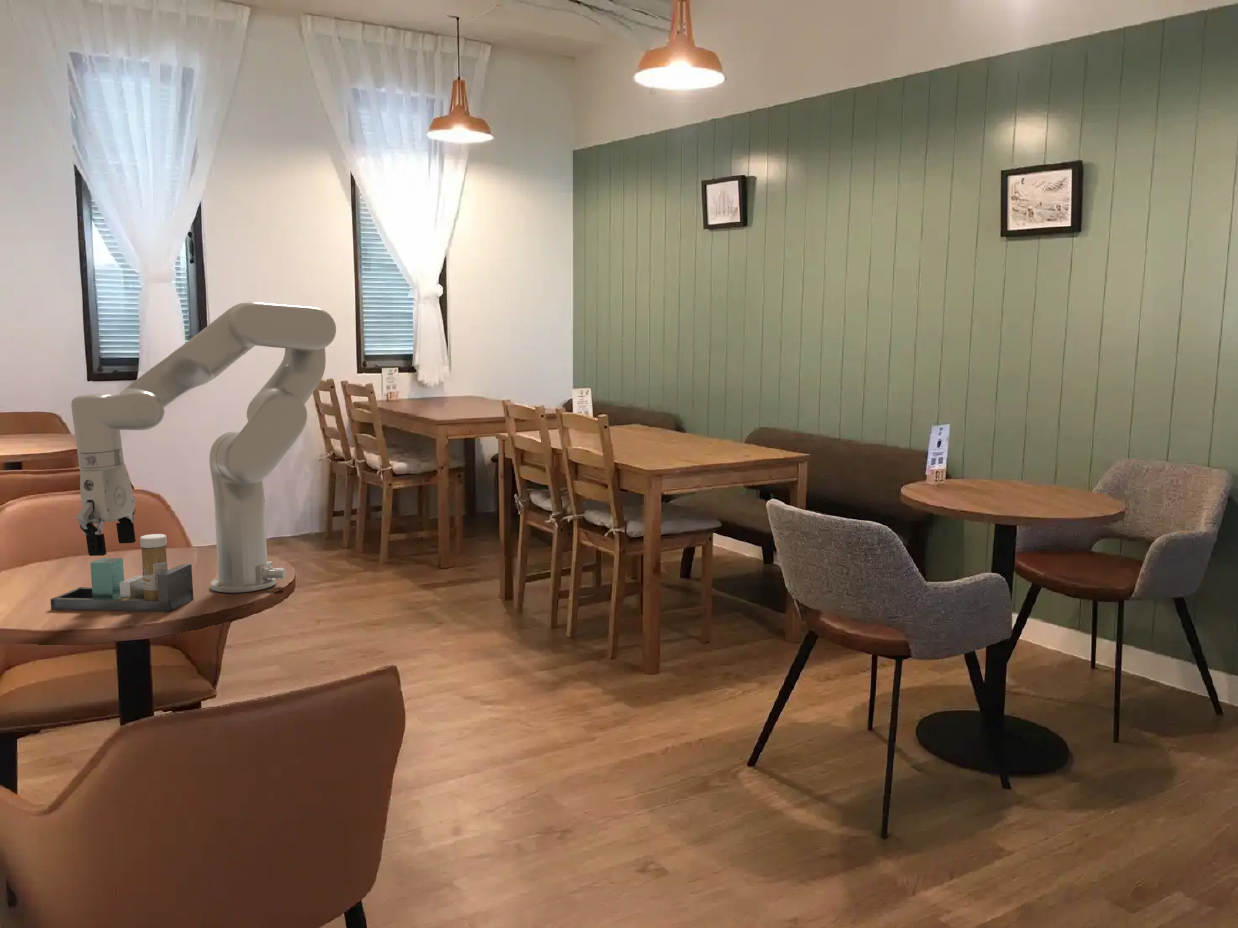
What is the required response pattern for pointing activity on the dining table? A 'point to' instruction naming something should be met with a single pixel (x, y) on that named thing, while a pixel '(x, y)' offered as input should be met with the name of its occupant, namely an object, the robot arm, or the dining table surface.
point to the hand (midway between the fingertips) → (112, 548)
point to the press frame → (172, 595)
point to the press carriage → (114, 581)
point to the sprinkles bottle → (153, 563)
